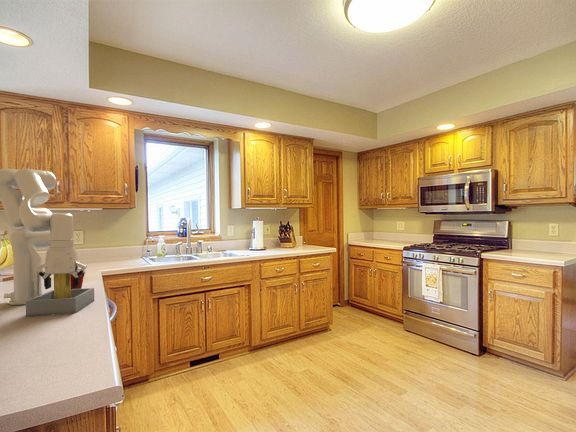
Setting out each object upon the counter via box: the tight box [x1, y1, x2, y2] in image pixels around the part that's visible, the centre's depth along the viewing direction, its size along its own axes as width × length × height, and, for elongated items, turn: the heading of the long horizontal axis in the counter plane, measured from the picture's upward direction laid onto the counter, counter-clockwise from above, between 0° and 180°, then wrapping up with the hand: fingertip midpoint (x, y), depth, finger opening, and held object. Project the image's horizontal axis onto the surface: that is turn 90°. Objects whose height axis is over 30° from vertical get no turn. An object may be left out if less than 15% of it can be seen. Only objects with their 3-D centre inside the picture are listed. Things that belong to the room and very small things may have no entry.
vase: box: [53, 274, 71, 299], centre depth 124 cm, size 6×6×14 cm
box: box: [25, 287, 95, 317], centre depth 124 cm, size 16×18×6 cm
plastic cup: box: [70, 268, 87, 289], centre depth 143 cm, size 11×11×12 cm
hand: (62, 287), depth 124 cm, fingers open, 9 cm apart
